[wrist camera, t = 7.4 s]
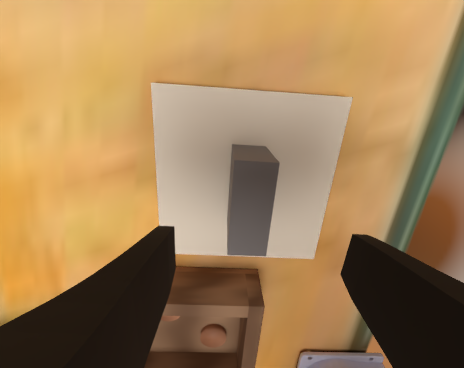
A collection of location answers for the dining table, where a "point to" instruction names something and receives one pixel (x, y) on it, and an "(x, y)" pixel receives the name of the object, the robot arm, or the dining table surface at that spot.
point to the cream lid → (245, 168)
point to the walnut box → (209, 320)
